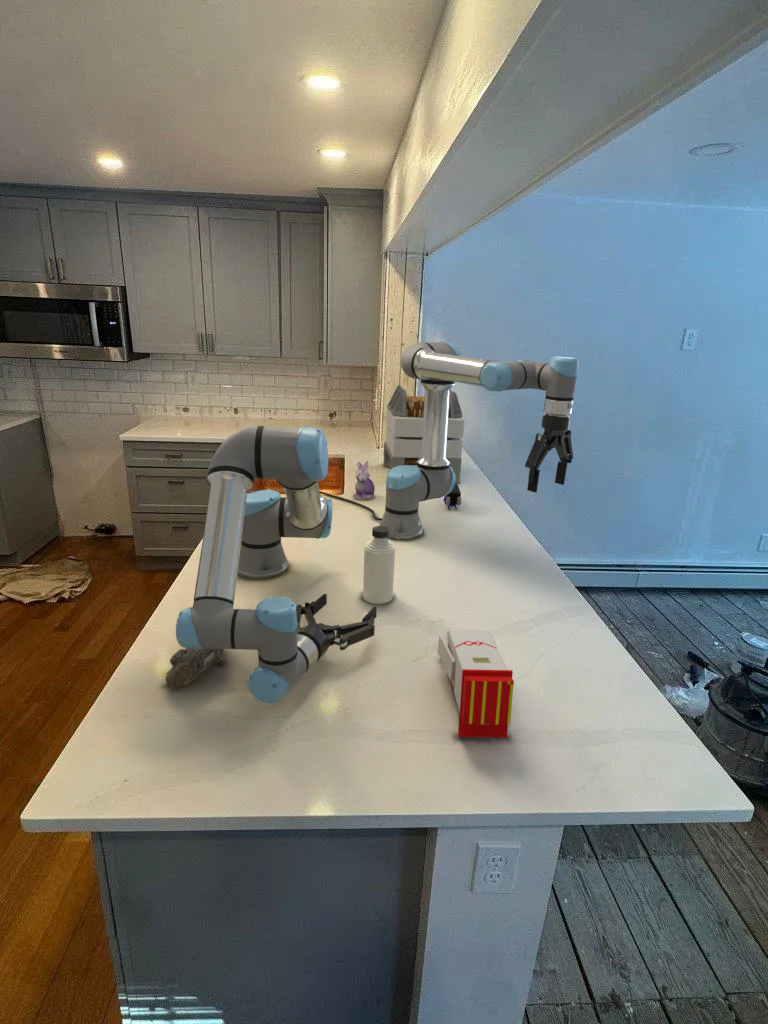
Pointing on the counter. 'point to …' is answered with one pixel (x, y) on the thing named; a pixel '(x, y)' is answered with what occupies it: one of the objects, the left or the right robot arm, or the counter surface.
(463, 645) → the toy
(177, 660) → the fossil
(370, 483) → the figurine
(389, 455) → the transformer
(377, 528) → the cap
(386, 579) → the bottle
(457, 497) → the figurine character
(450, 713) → the counter surface
